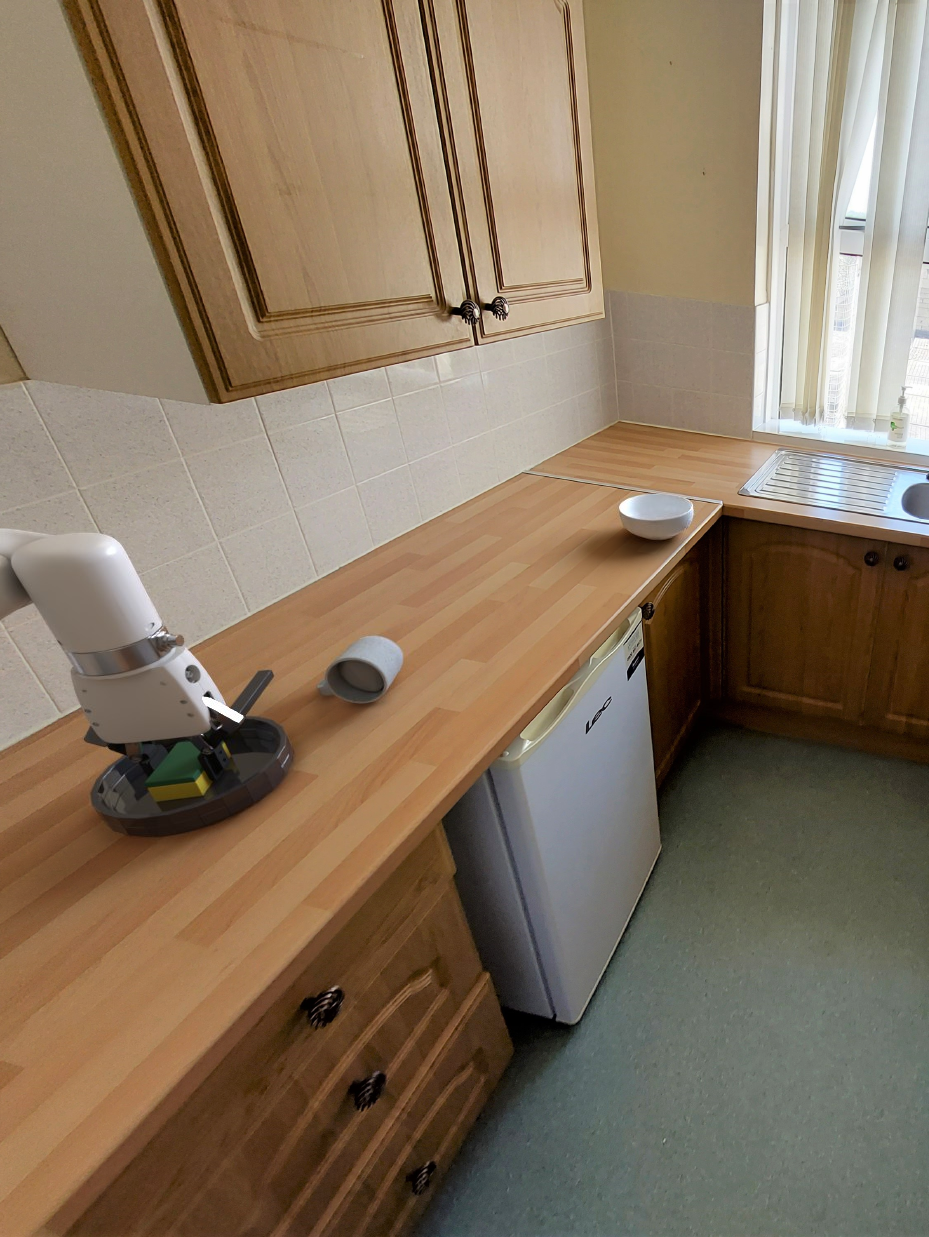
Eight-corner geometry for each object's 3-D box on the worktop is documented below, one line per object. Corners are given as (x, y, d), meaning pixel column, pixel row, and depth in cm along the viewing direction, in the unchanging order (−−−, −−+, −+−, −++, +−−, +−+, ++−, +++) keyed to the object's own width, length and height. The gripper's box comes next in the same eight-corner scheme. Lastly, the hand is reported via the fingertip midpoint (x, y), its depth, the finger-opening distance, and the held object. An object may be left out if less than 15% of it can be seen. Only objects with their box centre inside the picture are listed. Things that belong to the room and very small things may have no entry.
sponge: (155, 802, 74) (143, 783, 73) (187, 760, 80) (177, 742, 78) (203, 796, 75) (192, 777, 74) (231, 755, 81) (222, 737, 80)
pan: (66, 853, 68) (49, 830, 66) (157, 746, 82) (145, 725, 81) (261, 825, 73) (250, 803, 71) (316, 728, 87) (307, 708, 85)
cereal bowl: (638, 516, 160) (636, 489, 156) (703, 525, 158) (702, 497, 155) (608, 542, 145) (605, 513, 142) (679, 552, 144) (677, 522, 140)
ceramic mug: (412, 670, 100) (398, 627, 96) (393, 702, 93) (377, 658, 89) (335, 674, 98) (318, 631, 94) (309, 708, 91) (289, 663, 87)
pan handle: (224, 726, 83) (220, 718, 83) (261, 677, 92) (258, 670, 92) (239, 724, 84) (236, 717, 83) (274, 676, 93) (271, 669, 92)
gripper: (235, 624, 74) (289, 745, 83) (43, 637, 69) (124, 764, 78) (201, 660, 67) (264, 787, 77) (-11, 677, 63) (83, 810, 72)
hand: (193, 774), depth 77 cm, fingers closed on sponge, 4 cm apart
